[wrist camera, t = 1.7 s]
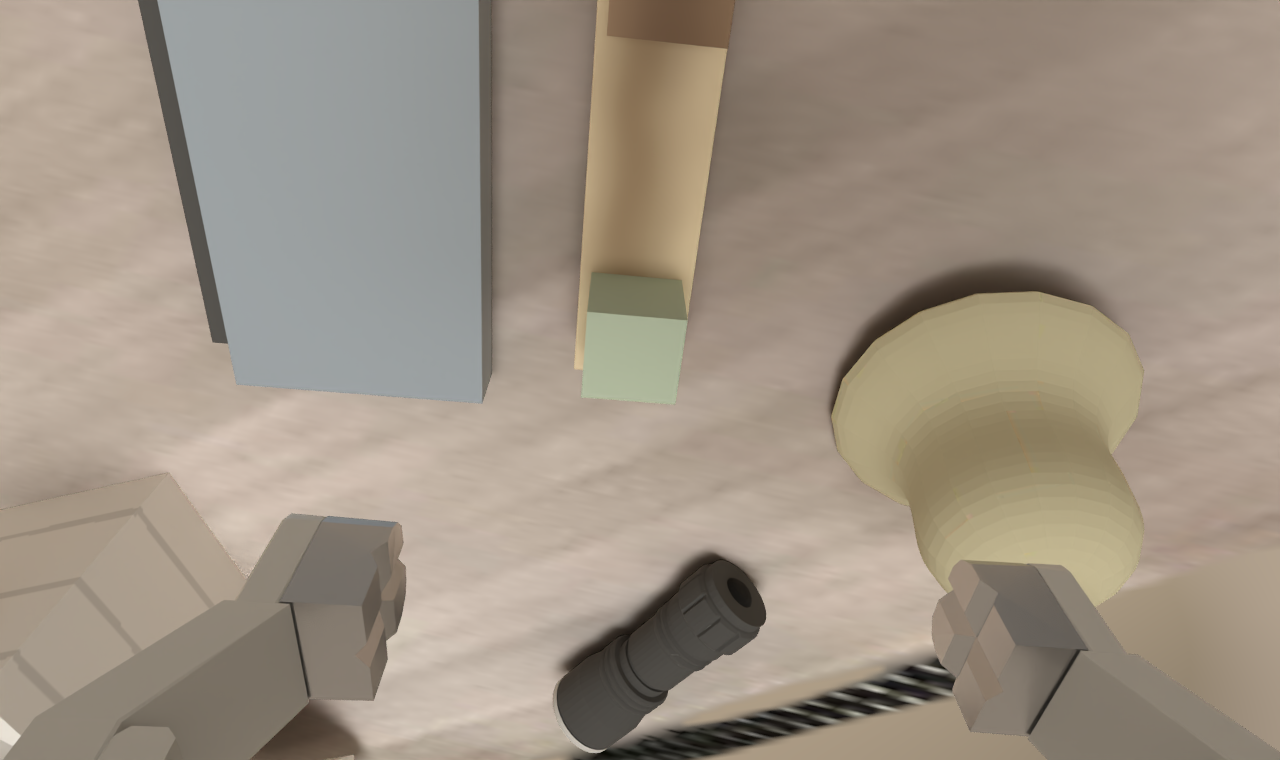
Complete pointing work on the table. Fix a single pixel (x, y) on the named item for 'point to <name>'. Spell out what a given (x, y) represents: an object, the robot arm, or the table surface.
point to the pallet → (646, 160)
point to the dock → (336, 186)
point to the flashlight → (658, 656)
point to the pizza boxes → (98, 588)
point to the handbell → (1002, 434)
